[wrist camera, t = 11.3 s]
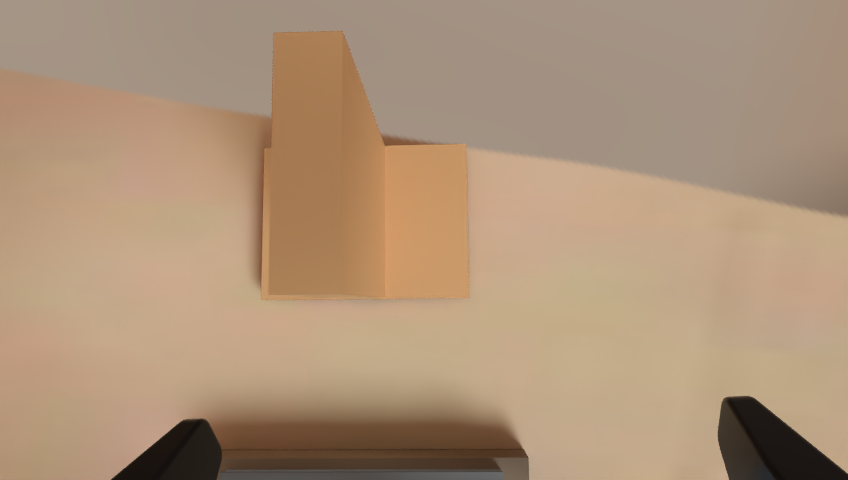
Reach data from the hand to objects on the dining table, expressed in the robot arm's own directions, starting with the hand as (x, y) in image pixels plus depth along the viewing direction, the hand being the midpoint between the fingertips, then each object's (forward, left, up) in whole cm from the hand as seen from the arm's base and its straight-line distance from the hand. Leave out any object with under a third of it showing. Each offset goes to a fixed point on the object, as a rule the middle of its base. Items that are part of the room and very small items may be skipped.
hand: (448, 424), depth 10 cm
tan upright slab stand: (0, +6, -12) cm, 14 cm away
